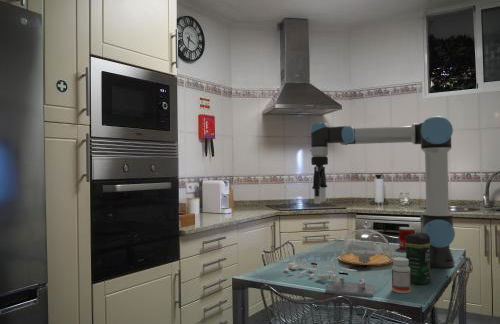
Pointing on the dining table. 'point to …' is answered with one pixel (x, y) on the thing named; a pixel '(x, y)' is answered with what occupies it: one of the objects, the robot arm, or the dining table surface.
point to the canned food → (404, 235)
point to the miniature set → (321, 276)
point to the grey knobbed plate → (351, 288)
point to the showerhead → (364, 255)
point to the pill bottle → (401, 275)
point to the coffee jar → (418, 257)
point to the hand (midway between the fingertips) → (320, 202)
